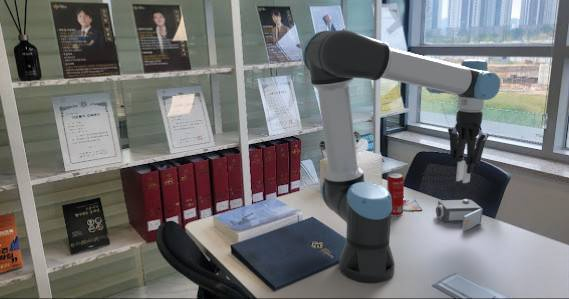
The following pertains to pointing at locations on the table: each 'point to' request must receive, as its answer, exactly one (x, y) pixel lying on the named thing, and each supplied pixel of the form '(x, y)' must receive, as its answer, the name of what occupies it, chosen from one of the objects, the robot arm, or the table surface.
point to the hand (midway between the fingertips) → (462, 181)
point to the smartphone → (411, 206)
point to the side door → (472, 219)
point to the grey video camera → (455, 210)
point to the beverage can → (396, 192)
